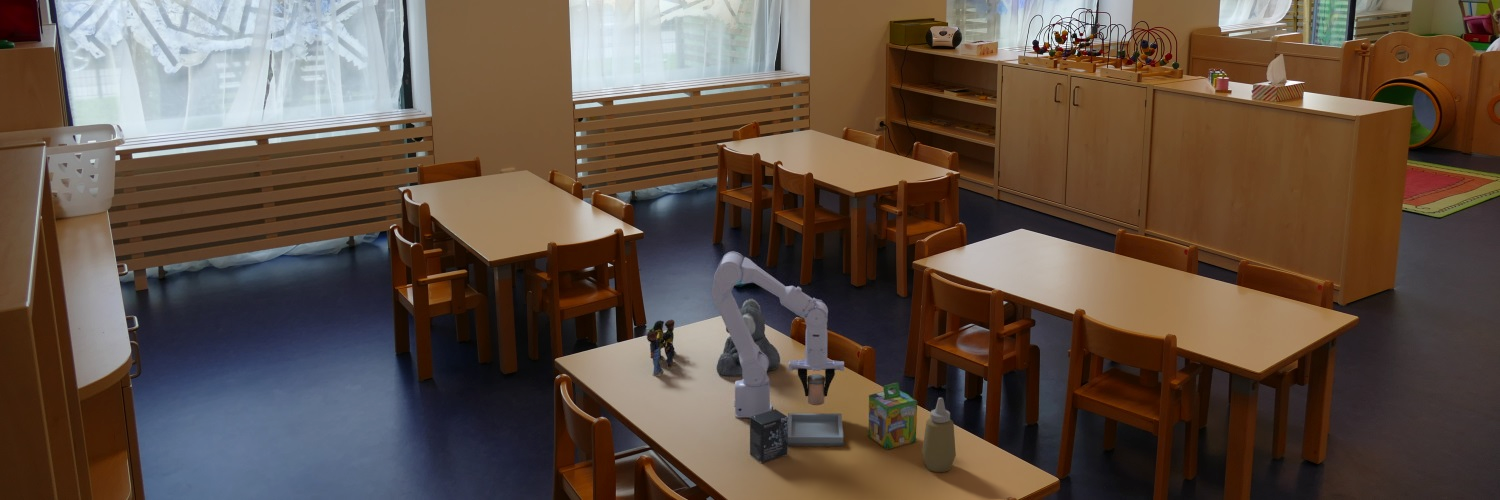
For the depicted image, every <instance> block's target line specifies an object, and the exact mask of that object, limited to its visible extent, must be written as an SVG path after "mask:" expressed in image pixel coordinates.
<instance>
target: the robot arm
mask: <svg viewBox="0 0 1500 500" xmlns="http://www.w3.org/2000/svg"><path fill="white" fill-rule="evenodd" d="M740 280H741V284H742V285H744V284H750V283H753V284H756V285H757V286H759V287H761V288H762V289H764V290H765V291H768V292H769V293H771V294H772V295H774V296H776V297H778V299H779V302H780V304H781V306H783V307H785V308H786V309H788V310H789V311H791V312H792V313H794V314H795V315H796V316H799V317H800V318H802V319H804V322H805V324H806V329H805V357H804V358H805V359H798V360H789V361H788V371H793V370H796V371H797V375H798V378H799V380H800V382H801V384H802V387H803V390H804V396H805V397H808V381H807V377H808V370H809V371H810V370H811V371H814V372H820V371H824V377H825V382H824V397H827V396H828V393H829V388H830V386H831V383H832V381H833V380H834V377H835V375H836V372H835V371H839V372H845V361H840V360H833V359H828V329H827V328H828V314H829V309H828V306H827V305H826V304H825V302H824V301H823V300H822V299H817V298H815V297H813V298H812V297H811V296H810V295H808V294H806V293H805V292H803V291H802V288H801V287H800V286H797V287H796V286H794V285H789V286H787V285H786V286H785V284H783V283H782V282H780V281H779V280H778V279H776V278H775V277H773V276H772V275H771V274H769V273H768V272H766V271H765V270H763V268H761V267H759V266H758V265H757V264H756V263H755V262H753V260H751V258H748V257H746V256H744V255H742V254H741V253H739V252H737V251H729V252H727V253H725V254H724V255H723V257H722V258H721V259H720V262H719V263H718V265H717V269H716V270H715V272H714V276H713V281H712V286H711V297H712V299H713V301H714V303H715V305H716V308H717V310H718V312H719V314H720V317H721V319H722V321H723V323H724V326H725V328H726V327H727V330H728V332H729V333H728V332H727V333H728V334H729V337H730V336H731V338H732V340H733V343H734V345H735V347H736V349H737V351H738V353H739V359H740V365H741V367H742V370H743V372H742V375H741V376H742V379H740V380H735V383H734V403H733V404H734V408H735V411H734V412H735V413H734V414H735V415H734V416H735V418H748V419H750V416H754V415H758V414H761V413H765V412H768V411H771V410H773V404H772V403H771V394H770V392H771V385H770V383H771V382H770V377H769V376H768V374H767V371H768V370H767V368H768V366H769V359H768V357H767V356H766V355H765V354H764V353H763V352H762V351H761V350H760V348H759V346H758V345H756V344H755V342H754V340H753V338H752V336H751V334H750V332H749V329H748V327H747V325H746V323H745V321H744V318H743V316H742V314H741V312H740V308H739V306H738V304H737V301H736V299H735V297H734V295H733V292H732V291H733V290H734V286H736V285H737V284H738V283H739V282H740Z"/></svg>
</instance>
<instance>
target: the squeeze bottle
mask: <svg viewBox="0 0 1500 500" xmlns="http://www.w3.org/2000/svg"><path fill="white" fill-rule="evenodd" d="M935 405H936V406H935V409H931V411H930V418H928V419H927V420H926V421H925V422H926V423H925V429H924V436H923V442H922V450H921V453H922V454H921V455H922V458H923V461H924V464H925V467H926V468H927V470H929V471H931V472H935V473H945V472H948V471H950V470H951V468H952V466H953V464H954V461H955V458H956V457H957V454H956V453H957V452H956V440H955V439H956V437H955V425H954V421H953V420H952V419H951V412H950V411H949V410H947V409H946V407H945V406H946V405H945V401H944V397H938V398H937V402H936V404H935Z"/></svg>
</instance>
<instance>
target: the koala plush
mask: <svg viewBox="0 0 1500 500" xmlns="http://www.w3.org/2000/svg"><path fill="white" fill-rule="evenodd" d="M739 310H740V312H741V314H742V316H743V318H744V321H745V323H746V325H747V327H748V329H749V332H750V334H751V336H752V338H753V340H754V342H755V344H756V345H758V346H759V348H760V350H761V351H762V352H763V353H764V354H765V355H766V356H767V357H768V359H769V366H768V368H767V371H773V370H776V369H777V368H778V367H779V365H780V364H781V356H780V354H779V351H778V349H777V348H776V347H775V346H774V345H773V344H772V343H771V342H770V340H768V338H767V337H766V336H767V335H766V334H765V330H766V322H765V321H766V320H765V317H764V316H763V313H761V305H759V303H758V301H756V300H755V299H753V298H748V299H746V300H744V302H743V304H742V307H741V308H739ZM725 330H726V333H728V334H729V332H728V330H727V327H726V326H725ZM742 372H743V370H742V367H741V365H740V359H739V353H738V351H737V349H736V347H735V345H734V343H733V340H732V338H731V336H730V335H729V336H728V337H727V338H726V340H725V343H724V346H723V352H722V353H721V354H720V356H719V358H718V361H717V364H716V373H717V374H719V375H721V376H725V377H726V376H727V377H736V376H742Z"/></svg>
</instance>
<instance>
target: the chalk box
mask: <svg viewBox="0 0 1500 500" xmlns="http://www.w3.org/2000/svg"><path fill="white" fill-rule="evenodd" d="M917 416H918V401H917V399H914V398H913V397H912V396H910V395H909V394H908V393H906V392H903V391H901V389H900V385H899V382H893V383H890V384H885V385H883V391H880V392H876V393H873V394H869V395H868V432H867V433H868V437H869V439H870V438H871V439H872V440H873V441H875V442H876V443H878V444H879V445H880V446H882V447H884V448H885V449H886V450H889V449H895V448H898V447H901V446H905V445H909V444H912V443H916V442H917V441H916V440H917V420H918V419H917Z"/></svg>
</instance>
